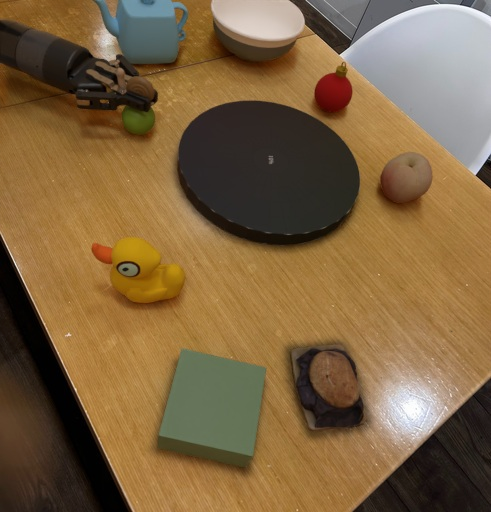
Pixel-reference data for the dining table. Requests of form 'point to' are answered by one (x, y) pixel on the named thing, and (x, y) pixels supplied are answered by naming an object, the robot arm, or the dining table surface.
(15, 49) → the robot arm
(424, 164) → the fruit
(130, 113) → the snail figurine
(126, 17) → the teapot
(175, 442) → the green block
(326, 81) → the christmas ornament
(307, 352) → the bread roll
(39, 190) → the dining table surface
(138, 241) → the duckling
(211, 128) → the disc
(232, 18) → the bowl
